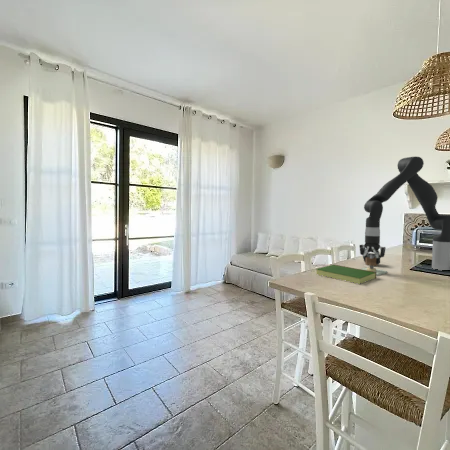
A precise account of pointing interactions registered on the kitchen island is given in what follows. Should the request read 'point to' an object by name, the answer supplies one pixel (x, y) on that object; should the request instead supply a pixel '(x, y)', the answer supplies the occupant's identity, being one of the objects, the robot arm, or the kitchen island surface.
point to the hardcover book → (346, 273)
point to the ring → (370, 261)
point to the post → (378, 272)
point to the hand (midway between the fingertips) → (371, 263)
